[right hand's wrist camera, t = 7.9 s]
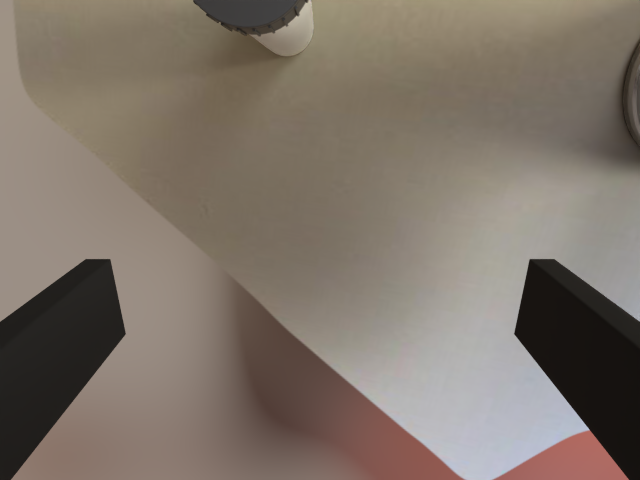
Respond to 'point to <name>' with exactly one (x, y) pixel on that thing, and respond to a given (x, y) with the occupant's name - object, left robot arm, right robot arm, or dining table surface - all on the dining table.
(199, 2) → the lid
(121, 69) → the dining table surface
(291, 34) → the bottle
